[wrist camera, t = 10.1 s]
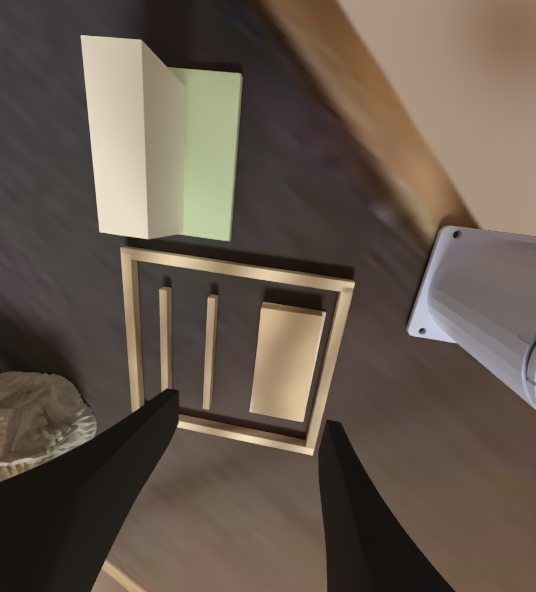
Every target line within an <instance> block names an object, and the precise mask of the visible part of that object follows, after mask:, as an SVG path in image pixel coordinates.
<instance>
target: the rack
mask: <svg viewBox="0 0 536 592" xmlns="http://www.w3.org/2000/svg"><path fill="white" fill-rule="evenodd" d="M120 249H121V263H122V277H123V291H124V305H125V319H126V333H127V347H128V361H129V375H130V390H131V404H132V413H133V412H135V411H136V410H137V409H139V408H140V407H142V406H143V405H144V385H143V365H142V345H141V325H140V305H139V284H138V264H137V260H138V261H145V262H151V263H158V264H164V265H171V266H177V267H184V268H190V269H197V270H203V271H210V272H216V273H223V274H229V275H236V276H242V277H249V278H255V279H262V280H268V281H275V282H281V283H288V284H294V285H301V286H307V287H314V288H320V289H327V290H333V291H339V294H338V299H337V303H336V307H335V312H334V316H333V321H332V325H331V329H330V334H329V338H328V343H327V347H326V351H325V356H324V360H323V365H322V369H321V373H320V378H319V382H318V387H317V391H316V395H315V400H314V404H313V409H312V413H311V418H310V422H309V426H308V431H307V435H306V440H303V439H298V438H294V437H289V436H284V435H279V434H274V433H269V432H264V431H259V430H255V429H250V428H245V427H240V426H235V425H230V424H225V423H220V422H216V421H211V420H206V419H201V418H196V417H191V416H186V415H181V414H179V423H178V426H177V427H179V428H184V429H189V430H194V431H198V432H203V433H208V434H213V435H217V436H222V437H227V438H232V439H237V440H241V441H246V442H251V443H256V444H260V445H265V446H270V447H275V448H279V449H284V450H289V451H294V452H299V453H303V454H308V455H313V452H314V448H315V444H316V440H317V436H318V432H319V428H320V423H321V419H322V415H323V411H324V407H325V403H326V399H327V395H328V391H329V387H330V383H331V379H332V375H333V371H334V367H335V363H336V358H337V354H338V350H339V346H340V342H341V338H342V334H343V330H344V326H345V322H346V318H347V314H348V310H349V306H350V302H351V298H352V294H353V289H354V285H355V282H354V281H353V280H350V279H343V278H336V277H329V276H323V275H316V274H309V273H303V272H296V271H289V270H283V269H276V268H269V267H263V266H256V265H249V264H243V263H236V262H229V261H223V260H216V259H209V258H203V257H196V256H189V255H183V254H176V253H169V252H162V251H156V250H149V249H142V248H136V247H129V246H126V247H121V248H120ZM159 292H160V339H161V386H162V391H164V390H165V389H167V388H169V389H172V288H170V287H163V288H161V289H159ZM218 296H219V295H213V294H211V295H210V296H209V297H208V307H207V328H206V350H205V372H204V393H203V409H208V410H209V409H210V407H211V405H212V395H213V379H214V362H215V346H216V329H217V313H218Z"/></svg>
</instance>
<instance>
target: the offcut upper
mask: <svg viewBox="0 0 536 592" xmlns="http://www.w3.org/2000/svg"><path fill="white" fill-rule="evenodd" d="M322 317H323V316H322V311H315V310H308V309H301V308H294V307H286V306H279V305H272V304H264V303H263V305H262V307H261V315H260V326H259V336H258V347H257V358H256V369H255V379H254V390H253V401H252V412H253V413H259V414H264V415H270V416H275V417H281V418H286V419H292V420H298V421H304V415H305V410H306V404H307V399H308V393H309V388H310V382H311V377H312V371H313V366H314V360H315V355H316V350H317V344H318V339H319V333H320V328H321V322H322Z"/></svg>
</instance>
